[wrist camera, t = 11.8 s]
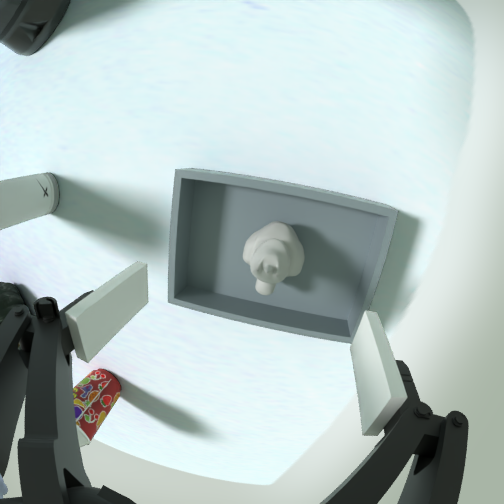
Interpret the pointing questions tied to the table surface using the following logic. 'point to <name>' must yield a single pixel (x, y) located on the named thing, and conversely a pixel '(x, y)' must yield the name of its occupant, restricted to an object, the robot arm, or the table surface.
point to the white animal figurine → (273, 255)
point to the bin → (309, 234)
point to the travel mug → (27, 198)
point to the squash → (8, 299)
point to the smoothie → (94, 402)
